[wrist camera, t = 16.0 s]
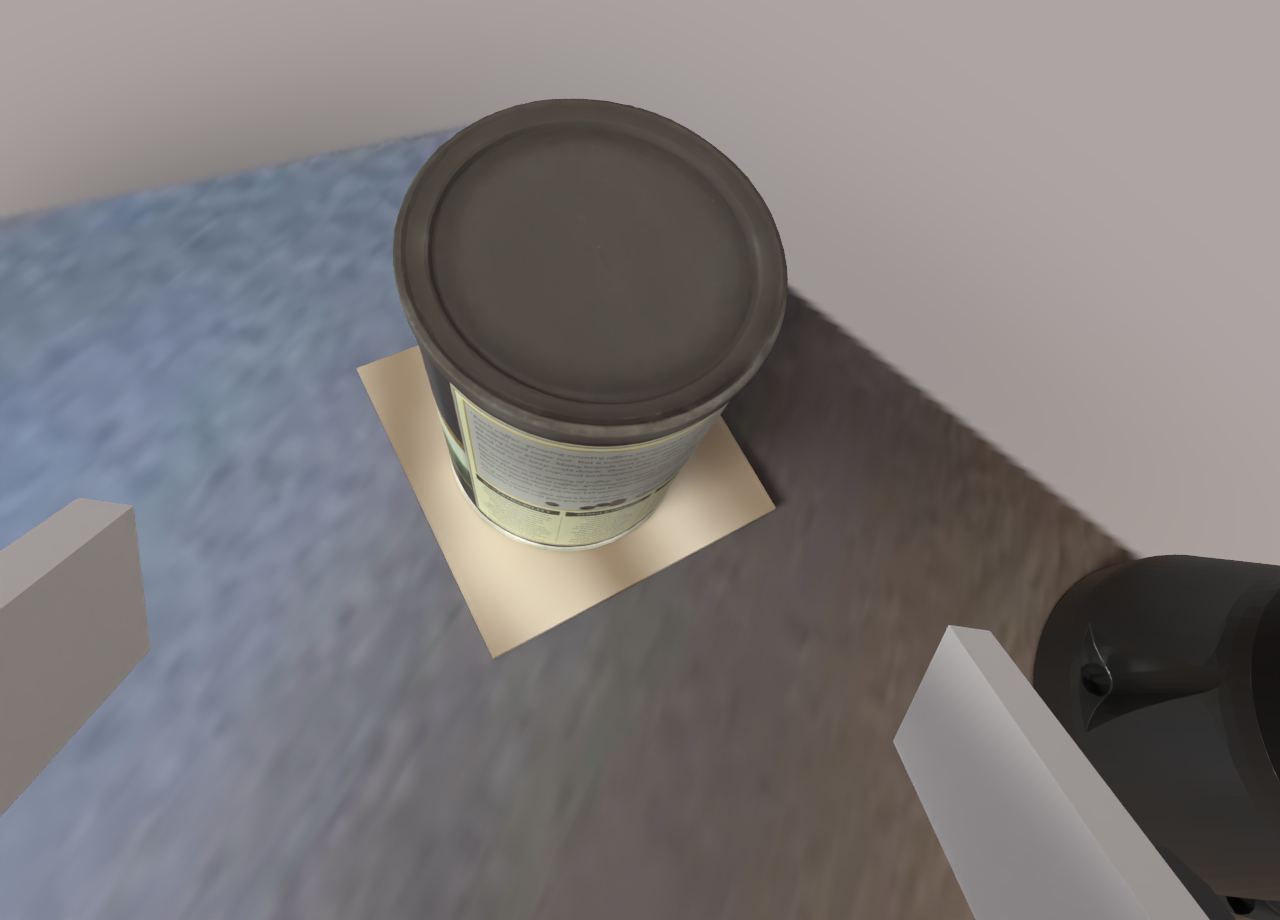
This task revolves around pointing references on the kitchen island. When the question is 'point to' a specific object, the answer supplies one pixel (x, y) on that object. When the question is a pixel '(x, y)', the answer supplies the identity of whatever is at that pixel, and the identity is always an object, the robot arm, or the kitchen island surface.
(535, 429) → the coffee can
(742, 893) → the kitchen island surface
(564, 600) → the birch board
